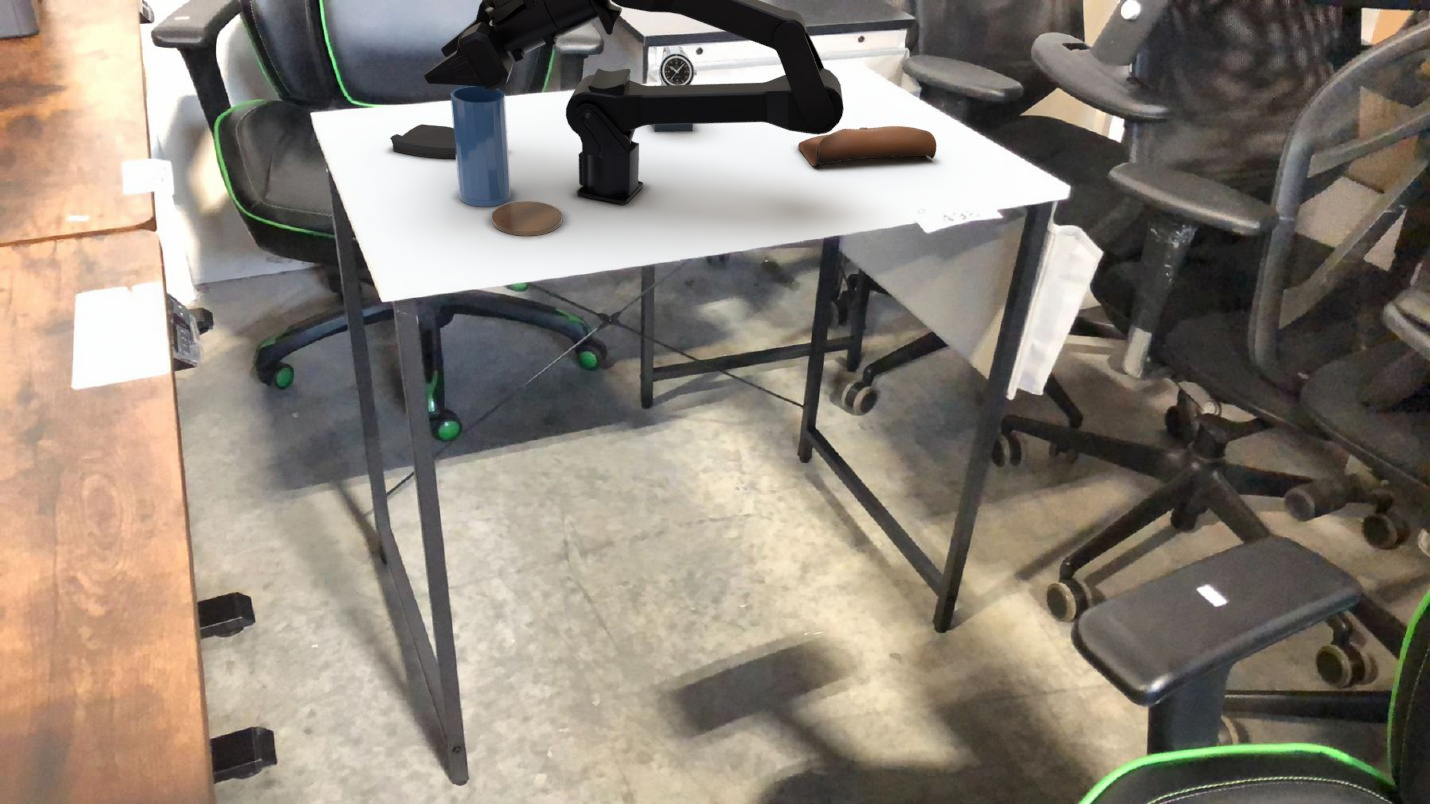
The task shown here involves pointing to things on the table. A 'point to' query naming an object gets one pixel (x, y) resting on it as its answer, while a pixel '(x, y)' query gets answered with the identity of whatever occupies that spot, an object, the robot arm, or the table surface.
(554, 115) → the table surface
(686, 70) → the watch
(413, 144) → the dark sector wedge
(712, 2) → the robot arm
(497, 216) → the coaster
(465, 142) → the pen cup
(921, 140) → the sunglasses case
